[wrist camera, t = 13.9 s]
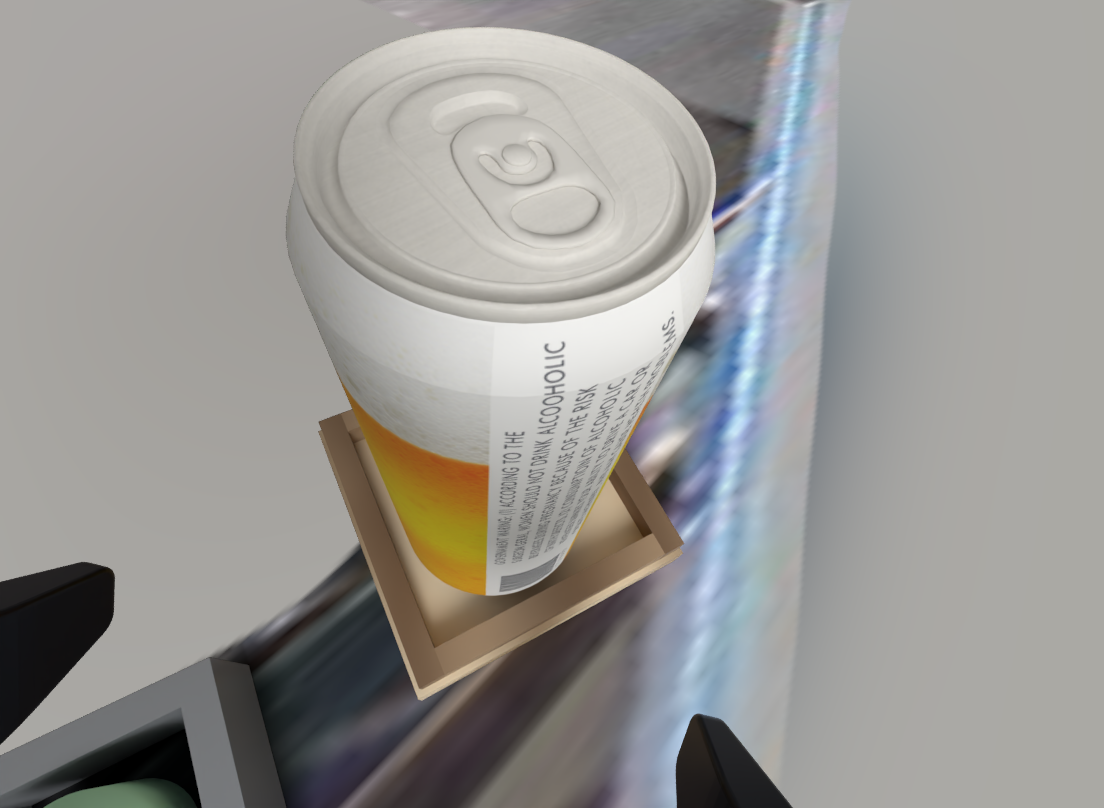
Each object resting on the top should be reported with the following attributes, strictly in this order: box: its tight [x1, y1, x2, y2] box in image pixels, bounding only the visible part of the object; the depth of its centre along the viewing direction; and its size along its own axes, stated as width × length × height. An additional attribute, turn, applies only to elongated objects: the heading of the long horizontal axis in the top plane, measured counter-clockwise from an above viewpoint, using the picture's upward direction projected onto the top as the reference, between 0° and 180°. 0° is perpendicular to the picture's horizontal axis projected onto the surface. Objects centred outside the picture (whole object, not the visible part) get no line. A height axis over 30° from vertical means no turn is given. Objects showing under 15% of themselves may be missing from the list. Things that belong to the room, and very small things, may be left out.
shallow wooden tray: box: [318, 409, 684, 700], centre depth 21 cm, size 10×10×2 cm
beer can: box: [286, 27, 716, 596], centre depth 14 cm, size 6×6×15 cm
